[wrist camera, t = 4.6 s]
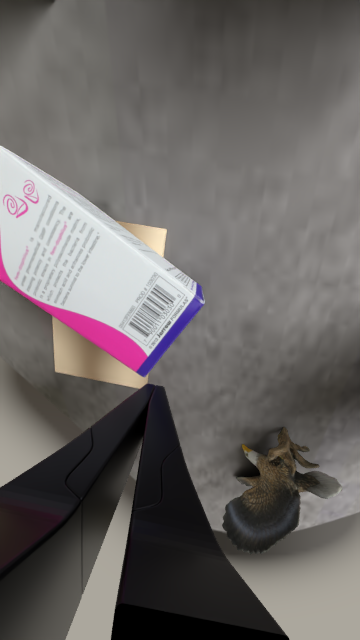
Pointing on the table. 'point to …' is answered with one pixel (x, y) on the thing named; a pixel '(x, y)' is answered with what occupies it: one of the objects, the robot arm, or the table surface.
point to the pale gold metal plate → (87, 357)
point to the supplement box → (89, 268)
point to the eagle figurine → (273, 497)
